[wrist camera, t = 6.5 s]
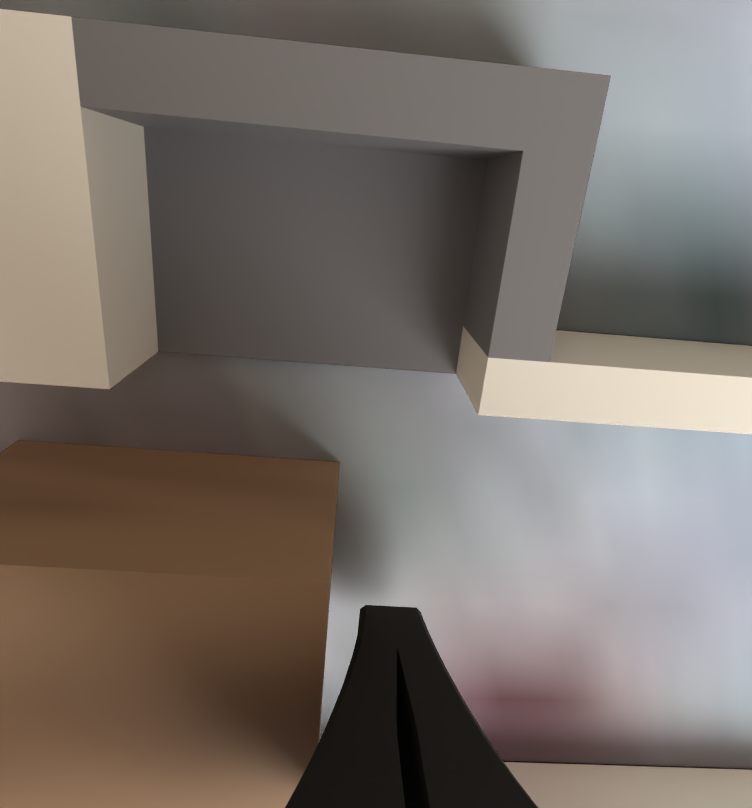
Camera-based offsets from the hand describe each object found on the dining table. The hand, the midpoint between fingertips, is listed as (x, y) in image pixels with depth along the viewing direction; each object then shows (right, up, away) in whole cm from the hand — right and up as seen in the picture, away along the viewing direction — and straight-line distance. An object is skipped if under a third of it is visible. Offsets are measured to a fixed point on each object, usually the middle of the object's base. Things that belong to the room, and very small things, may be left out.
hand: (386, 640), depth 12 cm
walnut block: (-5, +1, +1) cm, 5 cm away
